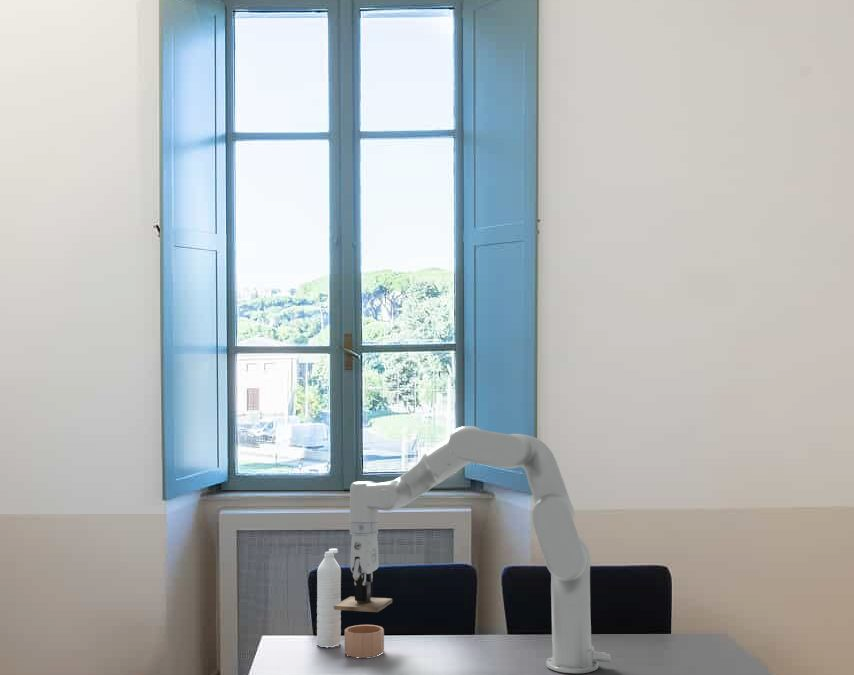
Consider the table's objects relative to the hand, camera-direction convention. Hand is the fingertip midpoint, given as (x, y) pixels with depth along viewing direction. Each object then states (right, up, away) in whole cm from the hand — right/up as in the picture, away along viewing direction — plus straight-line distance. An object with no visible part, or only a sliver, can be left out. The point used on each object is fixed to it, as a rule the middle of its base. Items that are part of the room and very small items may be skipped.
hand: (363, 598), depth 221 cm
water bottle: (-10, -15, +7) cm, 19 cm away
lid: (0, -2, 0) cm, 2 cm away
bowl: (0, -14, -1) cm, 14 cm away
